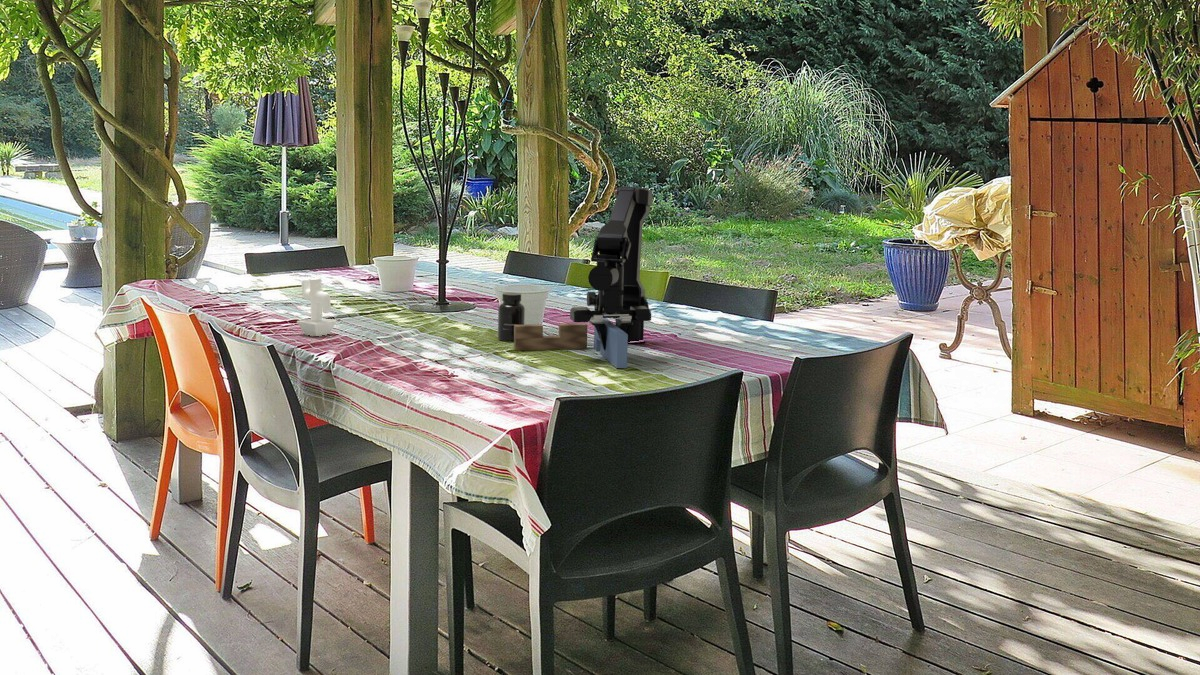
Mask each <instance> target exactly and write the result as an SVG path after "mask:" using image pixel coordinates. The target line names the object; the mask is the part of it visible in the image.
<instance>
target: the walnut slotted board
mask: <svg viewBox="0 0 1200 675" xmlns="http://www.w3.org/2000/svg"><path fill="white" fill-rule="evenodd" d="M513 349H514V351H517V352H518V351H543V350H544V351H545V350H546V351H547V350H548V351H549V350H552V351H553V350H580V349H581V350H584V349H588V324H587V322H573V323H558V335H544V325H542V324H539V323H538V324H537V323H535V324H532V323H531V324H524V325H514V342H513Z"/></svg>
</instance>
